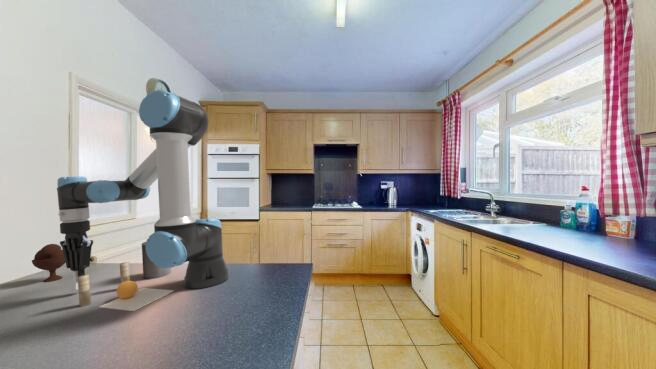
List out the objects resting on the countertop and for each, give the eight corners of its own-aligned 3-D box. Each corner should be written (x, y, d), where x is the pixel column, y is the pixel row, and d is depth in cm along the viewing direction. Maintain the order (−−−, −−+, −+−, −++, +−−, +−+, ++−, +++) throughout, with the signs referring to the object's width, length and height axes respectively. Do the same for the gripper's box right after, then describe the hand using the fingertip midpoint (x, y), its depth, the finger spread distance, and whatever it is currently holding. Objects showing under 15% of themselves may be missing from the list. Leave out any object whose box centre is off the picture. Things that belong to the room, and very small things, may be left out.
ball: (126, 283, 89) (135, 297, 88) (109, 290, 84) (117, 305, 83) (135, 274, 88) (144, 288, 87) (118, 281, 83) (127, 295, 82)
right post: (132, 287, 95) (130, 262, 95) (124, 289, 93) (123, 264, 93) (126, 286, 96) (125, 262, 96) (119, 289, 93) (117, 264, 93)
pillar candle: (139, 276, 107) (136, 239, 106) (165, 269, 115) (163, 235, 114) (149, 280, 101) (147, 242, 101) (176, 272, 109) (173, 237, 109)
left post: (92, 303, 83) (91, 274, 83) (83, 306, 81) (81, 277, 80) (87, 302, 84) (85, 274, 84) (77, 306, 81) (75, 277, 81)
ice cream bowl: (78, 274, 114) (76, 240, 114) (49, 284, 103) (46, 246, 103) (56, 275, 115) (54, 240, 115) (25, 285, 104) (22, 247, 104)
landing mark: (174, 291, 89) (174, 290, 89) (133, 311, 76) (133, 310, 76) (142, 288, 93) (142, 288, 93) (98, 307, 80) (98, 306, 80)
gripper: (48, 222, 90) (53, 291, 90) (75, 222, 86) (79, 293, 86) (75, 219, 97) (79, 283, 97) (100, 219, 93) (104, 284, 94)
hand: (79, 288), depth 92 cm, fingers closed
